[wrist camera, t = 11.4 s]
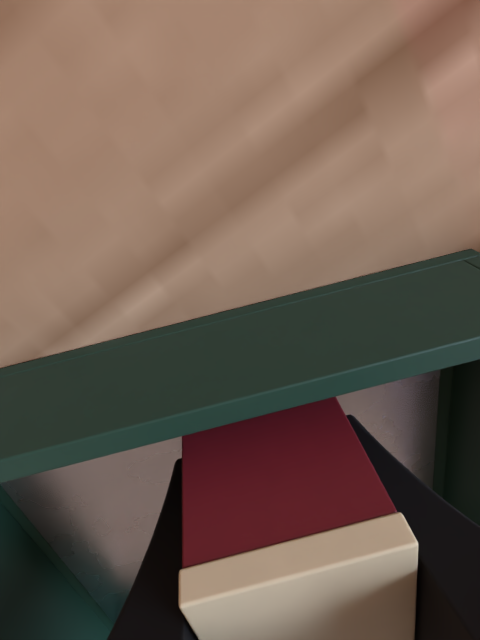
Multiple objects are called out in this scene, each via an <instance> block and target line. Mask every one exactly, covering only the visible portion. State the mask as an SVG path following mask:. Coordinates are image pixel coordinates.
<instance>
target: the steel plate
mask: <svg viewBox="0 0 480 640" xmlns="http://www.w3.org/2000/svg"><path fill="white" fill-rule="evenodd" d="M439 384H440V370H436V371H432V372H429V373H425V374H421V375H417V376H413V377H409V378H405V379H402V380H398V381H394V382H390V383H386V384H382V385H378V386H374V387H371V388H367V389H363V390H359V391H355V392H351V393H347V394H343V395H340V396H336V398H337V400H338V402H339V404H340V405H341V407H342V409H343V411H344V413H345V415H349V414H351V415H353V416H354V417H355V418H356V419H357V420H358V421H359V422H360V423H361V424H362V425H363V426H364V427H365V429H366V430H367V431H368V432H369V433H370V434H371V435H372V436H373V437H374V438H375V439H376V440H377V441H378V442H379V443H380V444H381V445H382V446H383V447H384V448H385V449H386V450H388V451H389V452H390V453H391V454H392V455H393V456H394V457H395V458H396V459H397V460H398V461H399V462H401V463H402V464H403V465H404V466H405V467H406V468H407V469H408V470H410V471H411V472H412V473H413V474H414V475H415V476H416V477H417V478H419V479H420V480H421V481H422V482H423V483H425V484H426V485H427V486H428V487H429V488H431V489H432V490H433V479H434V463H435V448H436V432H437V416H438V400H439ZM179 458H182V436H181V437H177V438H173V439H169V440H165V441H162V442H158V443H154V444H150V445H146V446H142V447H138V448H134V449H131V450H127V451H123V452H119V453H115V454H111V455H107V456H104V457H100V458H96V459H92V460H88V461H84V462H80V463H76V464H73V465H69V466H65V467H61V468H57V469H53V470H49V471H45V472H42V473H38V474H34V475H30V476H26V477H22V478H18V479H14V480H11V481H7V482H3V483H0V485H1V486H2V488H3V489H4V490H5V491H6V492H7V494H8V495H9V496H10V497H11V499H12V500H13V501H14V502H15V503H16V505H17V506H18V507H19V508H20V510H21V511H22V512H23V513H24V514H25V516H26V517H27V518H28V519H29V521H30V522H31V523H32V524H33V525H34V527H35V528H36V529H37V530H38V532H39V533H40V534H41V535H42V536H43V538H44V539H45V540H46V541H47V543H48V544H49V545H50V546H51V547H52V549H53V550H54V551H55V552H56V554H57V555H58V556H59V557H60V558H61V560H62V561H63V562H64V563H65V565H66V566H67V567H68V568H69V569H70V571H71V572H72V573H73V574H74V576H75V577H76V578H77V579H78V580H79V582H80V583H81V584H82V585H83V587H84V588H85V589H86V590H87V591H88V593H89V594H90V595H91V596H92V598H93V599H94V600H95V601H96V602H97V604H98V605H99V606H100V607H101V608H102V610H103V611H104V612H105V613H106V615H107V616H108V617H109V618H110V619H111V621H112V622H113V623H114V624H115V622H116V620H117V618H118V616H119V614H120V612H121V610H122V607H123V605H124V603H125V601H126V599H127V597H128V594H129V592H130V590H131V588H132V585H133V583H134V581H135V578H136V576H137V574H138V571H139V569H140V566H141V564H142V561H143V559H144V556H145V554H146V551H147V549H148V546H149V544H150V541H151V538H152V535H153V533H154V530H155V527H156V524H157V521H158V518H159V515H160V512H161V509H162V506H163V503H164V500H165V497H166V494H167V490H168V487H169V483H170V480H171V476H172V472H173V468H174V464H175V462H176V460H177V459H179Z"/></svg>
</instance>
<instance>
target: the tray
mask: <svg viewBox="0 0 480 640" xmlns="http://www.w3.org/2000/svg"><path fill="white" fill-rule="evenodd" d="M436 370H440V384H439V400H438V416H437V432H436V448H435V463H434V479H433V491H434V492H436V493H437V494H438V495H439V496H440V497H442V498H443V499H444V500H445V501H447V502H448V503H449V504H451V505H452V506H453V507H454V508H456V509H457V510H458V511H460V512H461V513H462V514H464V515H465V516H466V517H468V518H469V519H471V520H472V521H473V522H475V523H476V524H477V525H479V526H480V253H479V252H477V251H475V250H473V249H468V250H464V251H461V252H457V253H453V254H449V255H445V256H441V257H437V258H433V259H429V260H425V261H421V262H417V263H413V264H409V265H405V266H402V267H398V268H394V269H390V270H386V271H382V272H378V273H374V274H370V275H366V276H362V277H358V278H354V279H350V280H347V281H343V282H339V283H335V284H331V285H327V286H323V287H319V288H315V289H311V290H307V291H303V292H299V293H295V294H292V295H288V296H284V297H280V298H276V299H272V300H268V301H264V302H260V303H256V304H252V305H248V306H244V307H240V308H237V309H233V310H229V311H225V312H221V313H217V314H213V315H209V316H205V317H201V318H197V319H193V320H189V321H185V322H182V323H178V324H174V325H170V326H166V327H162V328H158V329H154V330H150V331H146V332H142V333H138V334H134V335H130V336H127V337H123V338H119V339H115V340H111V341H107V342H103V343H99V344H95V345H91V346H87V347H83V348H79V349H75V350H72V351H68V352H64V353H60V354H56V355H52V356H48V357H44V358H40V359H36V360H32V361H28V362H24V363H20V364H17V365H13V366H9V367H5V368H1V369H0V483H3V482H7V481H11V480H14V479H18V478H22V477H26V476H30V475H34V474H38V473H42V472H45V471H49V470H53V469H57V468H61V467H65V466H69V465H73V464H76V463H80V462H84V461H88V460H92V459H96V458H100V457H104V456H107V455H111V454H115V453H119V452H123V451H127V450H131V449H134V448H138V447H142V446H146V445H150V444H154V443H158V442H162V441H165V440H169V439H173V438H177V437H181V436H185V435H189V434H193V433H196V432H200V431H204V430H208V429H212V428H216V427H220V426H223V425H227V424H231V423H235V422H239V421H243V420H247V419H251V418H254V417H258V416H262V415H266V414H270V413H274V412H278V411H282V410H285V409H289V408H293V407H297V406H301V405H305V404H309V403H313V402H316V401H320V400H324V399H328V398H332V397H336V396H340V395H343V394H347V393H351V392H355V391H359V390H363V389H367V388H371V387H374V386H378V385H382V384H386V383H390V382H394V381H398V380H402V379H405V378H409V377H413V376H417V375H421V374H425V373H429V372H432V371H436ZM113 626H114V623H113V622H112V621H111V619H110V618H109V617H108V616H107V615H106V613H105V612H104V611H103V610H102V608H101V607H100V606H99V605H98V604H97V602H96V601H95V600H94V599H93V598H92V596H91V595H90V594H89V593H88V591H87V590H86V589H85V588H84V587H83V585H82V584H81V583H80V582H79V580H78V579H77V578H76V577H75V576H74V574H73V573H72V572H71V571H70V569H69V568H68V567H67V566H66V565H65V563H64V562H63V561H62V560H61V558H60V557H59V556H58V555H57V554H56V552H55V551H54V550H53V549H52V547H51V546H50V545H49V544H48V543H47V541H46V540H45V539H44V538H43V536H42V535H41V534H40V533H39V532H38V530H37V529H36V528H35V527H34V525H33V524H32V523H31V522H30V521H29V519H28V518H27V517H26V516H25V514H24V513H23V512H22V511H21V510H20V508H19V507H18V506H17V505H16V503H15V502H14V501H13V500H12V499H11V497H10V496H9V495H8V494H7V492H6V491H5V490H4V489H3V488H2V486H1V485H0V640H107V638H108V636H109V634H110V632H111V630H112V628H113Z"/></svg>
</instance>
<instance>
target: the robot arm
mask: <svg viewBox="0 0 480 640" xmlns="http://www.w3.org/2000/svg"><path fill="white" fill-rule="evenodd" d="M346 417H347V419H348V420H349V422H350V424H351V426H352V428H353V430H354V432H355V433H356V435H357V437H358V439H359V441H360V443H361V445H362V447H363V448H364V450H365V452H366V454H367V456H368V458H369V460H370V462H371V463H372V465H373V467H374V469H375V471H376V473H377V475H378V476H379V478H380V480H381V482H382V484H383V486H384V488H385V490H386V491H387V493H388V495H389V497H390V499H391V501H392V503H393V504H394V506H395V508H396V510H397V512H401V513H402V514H403V516H404V518H405V519H406V521H407V523H408V525H409V527H410V529H411V530H412V532H413V534H414V536H415V538H416V540H417V541H418V570H417V596H416V622H415V640H480V526H479V525H477V524H476V523H475V522H473V521H472V520H471V519H469V518H468V517H466V516H465V515H464V514H462V513H461V512H460V511H458V510H457V509H456V508H454V507H453V506H452V505H451V504H449V503H448V502H447V501H445V500H444V499H443V498H442V497H440V496H439V495H438V494H437V493H436V492H434V491H433V490H432V489H431V488H429V487H428V486H427V485H426V484H425V483H423V482H422V481H421V480H420V479H419V478H417V477H416V476H415V475H414V474H413V473H412V472H411V471H410V470H408V469H407V468H406V467H405V466H404V465H403V464H402V463H401V462H399V461H398V460H397V459H396V458H395V457H394V456H393V455H392V454H391V453H390V452H389V451H388V450H386V449H385V448H384V447H383V446H382V445H381V444H380V443H379V442H378V441H377V440H376V439H375V438H374V437H373V436H372V435H371V434H370V433H369V432H368V431H367V430H366V429H365V427H364V426H363V425H362V424H361V423H360V422H359V421H358V420H357V419H356V418H355V417H354V416H353V415H351V414H349V415H346ZM181 569H183V568H182V458H179V459H177V460H176V462H175V464H174V468H173V472H172V476H171V480H170V483H169V487H168V490H167V494H166V497H165V500H164V503H163V506H162V509H161V512H160V515H159V518H158V521H157V524H156V527H155V530H154V533H153V535H152V538H151V541H150V544H149V546H148V549H147V551H146V554H145V556H144V559H143V561H142V564H141V566H140V569H139V571H138V574H137V576H136V578H135V581H134V583H133V585H132V588H131V590H130V592H129V594H128V597H127V599H126V601H125V603H124V605H123V607H122V610H121V612H120V614H119V616H118V618H117V620H116V622H115V624H114V626H113V628H112V630H111V632H110V634H109V636H108V638H107V640H198V638H197V636H196V635H195V633H194V631H193V630H192V628H191V626H190V625H189V623H188V621H187V620H186V618H185V617H184V615H183V613H182V612H181V610H180V608H179V571H180V570H181Z"/></svg>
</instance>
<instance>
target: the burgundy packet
mask: <svg viewBox="0 0 480 640" xmlns="http://www.w3.org/2000/svg"><path fill="white" fill-rule="evenodd" d="M182 568H183V569H181V570H180V571H179V608H180V610H181V612H182V613H183V615H184V617H185V618H186V620H187V621H188V623H189V625H190V626H191V628H192V630H193V631H194V633H195V635H196V636H197V638H198V640H415V622H416V596H417V570H418V541H417V540H416V538H415V536H414V534H413V532H412V530H411V529H410V527H409V525H408V523H407V521H406V519H405V518H404V516H403V514H402V513H401V512H397V510H396V508H395V506H394V504H393V503H392V501H391V499H390V497H389V495H388V493H387V491H386V490H385V488H384V486H383V484H382V482H381V480H380V478H379V476H378V475H377V473H376V471H375V469H374V467H373V465H372V463H371V462H370V460H369V458H368V456H367V454H366V452H365V450H364V448H363V447H362V445H361V443H360V441H359V439H358V437H357V435H356V433H355V432H354V430H353V428H352V426H351V424H350V422H349V420H348V419H347V417H346V415H345V413H344V411H343V409H342V407H341V405H340V404H339V402H338V400H337V398H336V397H332V398H328V399H324V400H320V401H316V402H313V403H309V404H305V405H301V406H297V407H293V408H289V409H285V410H282V411H278V412H274V413H270V414H266V415H262V416H258V417H254V418H251V419H247V420H243V421H239V422H235V423H231V424H227V425H223V426H220V427H216V428H212V429H208V430H204V431H200V432H196V433H193V434H189V435H185V436H182Z"/></svg>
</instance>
